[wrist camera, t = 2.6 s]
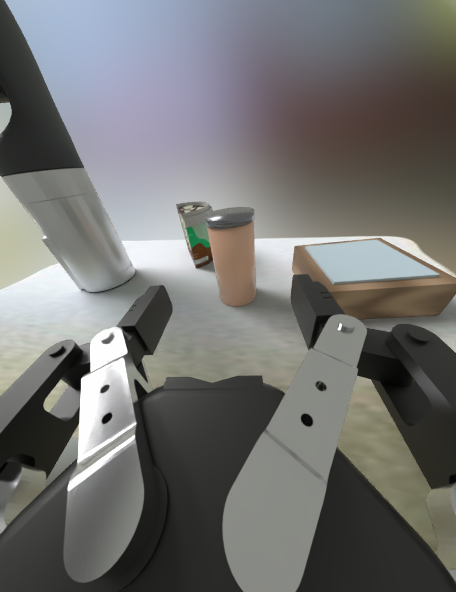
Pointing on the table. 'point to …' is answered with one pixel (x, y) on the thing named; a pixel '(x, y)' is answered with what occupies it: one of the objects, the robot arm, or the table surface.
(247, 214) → the terracotta canister
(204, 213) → the food container
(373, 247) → the walnut riser
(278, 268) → the table surface
